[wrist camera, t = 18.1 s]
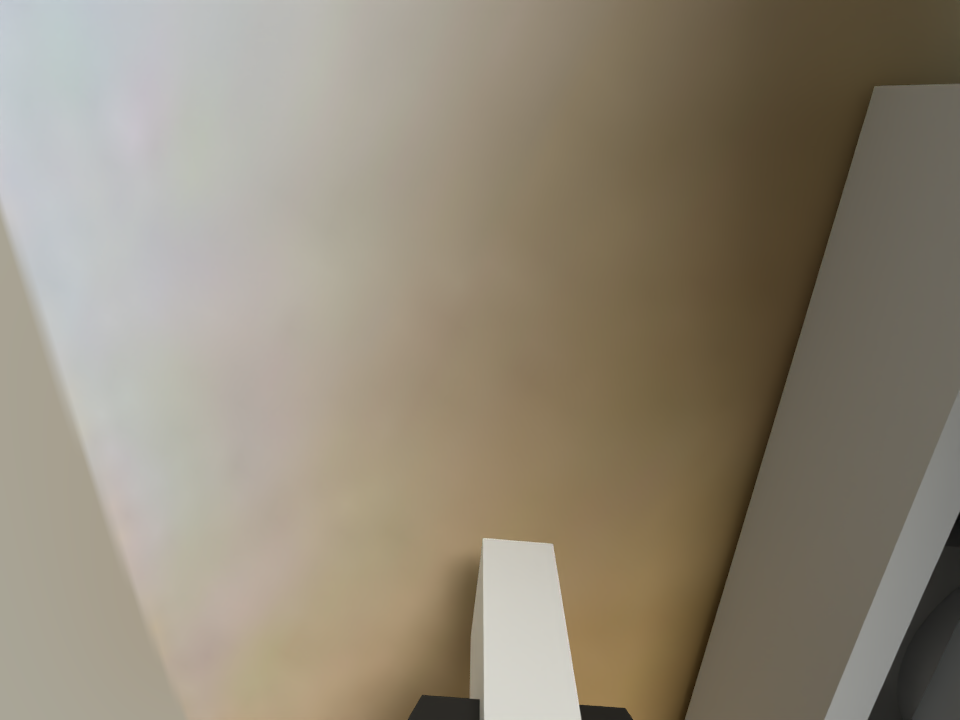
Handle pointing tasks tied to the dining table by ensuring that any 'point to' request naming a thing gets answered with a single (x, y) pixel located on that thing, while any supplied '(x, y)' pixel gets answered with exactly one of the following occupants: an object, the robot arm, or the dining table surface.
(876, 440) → the tray
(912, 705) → the disc
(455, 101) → the dining table surface
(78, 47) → the dining table surface
